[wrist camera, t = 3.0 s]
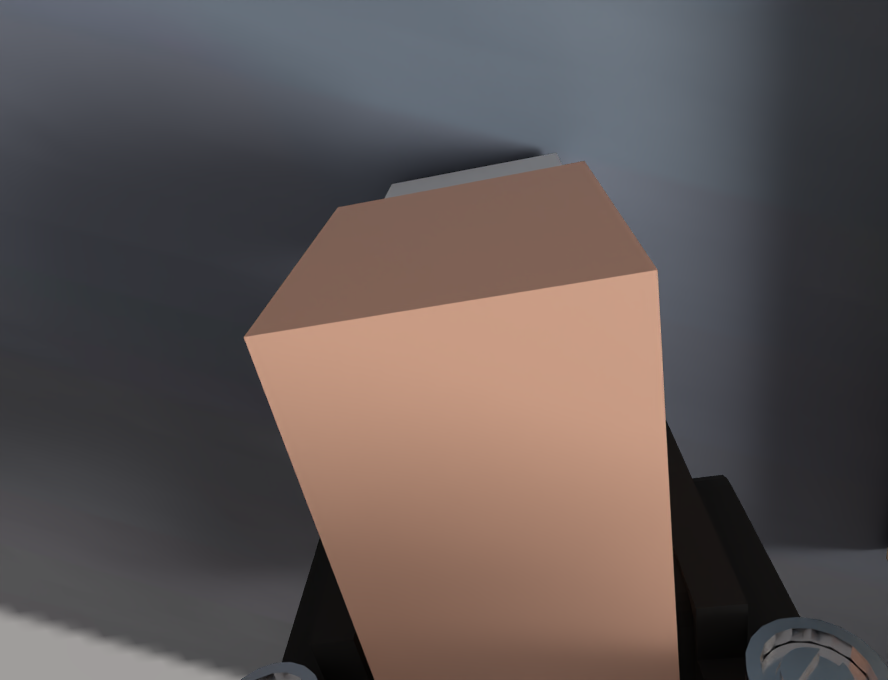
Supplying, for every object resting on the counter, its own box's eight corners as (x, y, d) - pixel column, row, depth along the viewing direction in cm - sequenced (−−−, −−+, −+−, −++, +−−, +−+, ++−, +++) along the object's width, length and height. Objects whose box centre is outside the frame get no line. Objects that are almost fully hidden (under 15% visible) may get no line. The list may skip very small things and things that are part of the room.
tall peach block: (606, 570, 16) (695, 977, 9) (486, 583, 16) (489, 980, 10) (551, 111, 11) (657, 269, 4) (382, 145, 11) (243, 337, 5)
